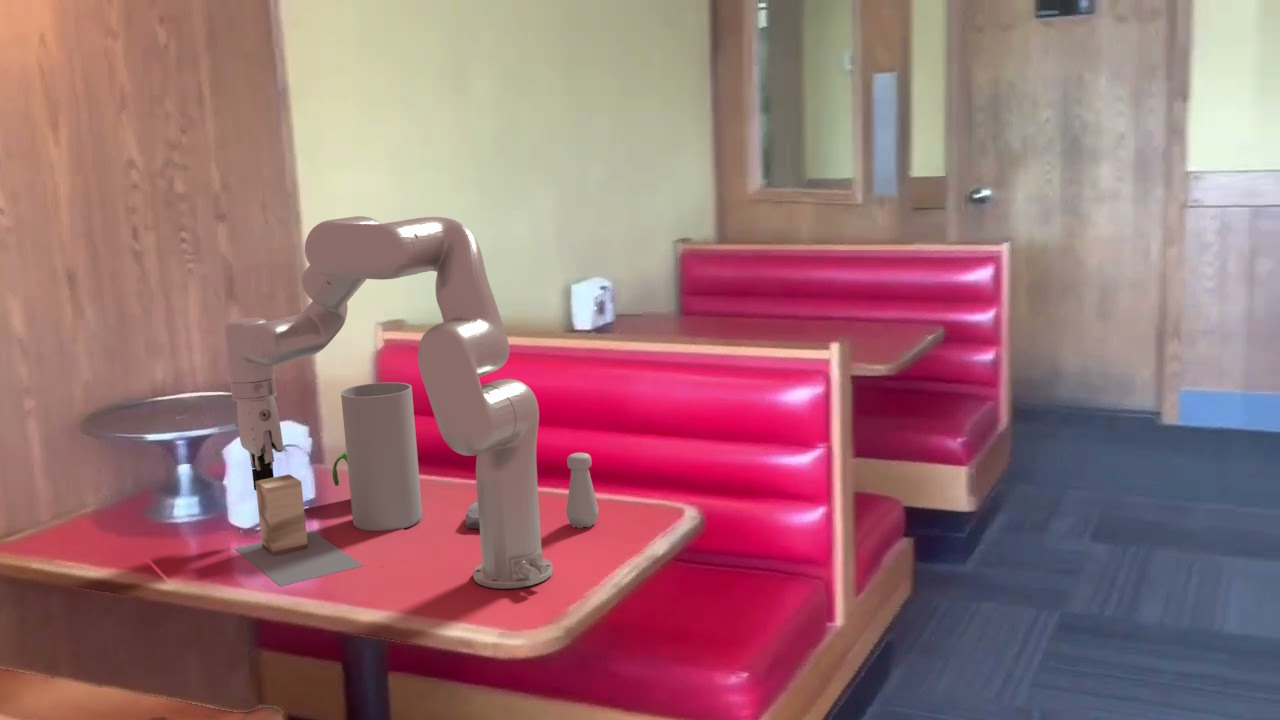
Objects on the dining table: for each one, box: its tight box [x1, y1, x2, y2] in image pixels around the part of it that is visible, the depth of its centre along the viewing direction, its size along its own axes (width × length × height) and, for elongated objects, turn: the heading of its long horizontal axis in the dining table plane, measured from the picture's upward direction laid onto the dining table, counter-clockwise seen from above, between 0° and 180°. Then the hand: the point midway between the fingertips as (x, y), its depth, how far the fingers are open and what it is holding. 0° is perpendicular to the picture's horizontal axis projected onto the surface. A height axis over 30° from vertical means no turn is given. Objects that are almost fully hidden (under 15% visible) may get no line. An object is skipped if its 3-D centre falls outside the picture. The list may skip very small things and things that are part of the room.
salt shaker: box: [565, 452, 600, 529], centre depth 219 cm, size 6×6×13 cm
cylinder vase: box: [340, 381, 423, 532], centre depth 225 cm, size 12×12×25 cm
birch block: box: [255, 474, 308, 556], centre depth 213 cm, size 6×6×12 cm
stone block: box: [465, 499, 480, 530], centre depth 224 cm, size 12×5×10 cm
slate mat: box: [234, 530, 364, 587], centre depth 209 cm, size 24×14×1 cm, turn 35°
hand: (264, 489), depth 219 cm, fingers closed
